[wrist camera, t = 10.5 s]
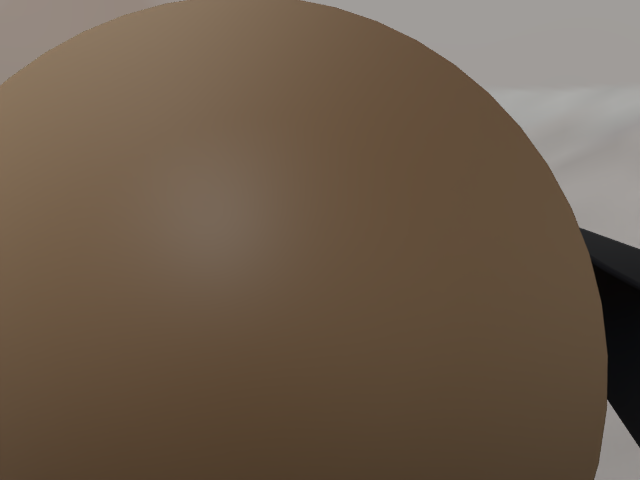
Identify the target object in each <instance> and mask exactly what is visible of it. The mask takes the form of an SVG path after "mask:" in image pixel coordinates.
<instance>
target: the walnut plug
mask: <svg viewBox="0 0 640 480" xmlns="http://www.w3.org/2000/svg"><path fill="white" fill-rule="evenodd" d="M607 364H608V354H607V346H606V337H605V328H604V319H603V311H602V303H601V299H600V295H599V291H598V287H597V283H596V279H595V275H594V271H593V267H592V263H591V259H590V255H589V252H588V249H587V247H586V244H585V242H584V239H583V236H582V234H581V231H580V229H579V226H578V224H577V221H576V218H575V216H574V213H573V211H572V208H571V206H570V204H569V203H568V201H567V199H566V197H565V195H564V193H563V192H562V190H561V188H560V186H559V184H558V182H557V181H556V179H555V177H554V175H553V173H552V171H551V170H550V168H549V166H548V164H547V163H546V162H545V160H544V159H543V157H542V156H541V155H540V153H539V152H538V151H537V149H536V148H535V146H534V145H533V144H532V142H531V141H530V139H529V138H528V137H527V135H526V134H525V133H524V131H523V130H522V128H521V127H520V126H519V125H518V124H517V123H516V122H515V121H514V120H513V118H512V117H511V116H510V115H509V114H508V113H507V112H506V111H505V110H504V109H503V108H502V107H501V106H500V105H499V103H498V102H497V101H496V100H495V99H494V98H493V97H492V96H491V95H490V94H489V93H488V92H487V91H486V90H484V89H483V88H482V87H481V86H480V85H478V84H477V83H476V82H475V81H473V80H472V79H471V78H470V77H469V76H468V75H466V74H465V73H464V72H463V71H462V70H460V69H459V68H458V67H457V66H456V65H454V64H453V63H451V62H450V61H448V60H446V59H445V58H443V57H442V56H440V55H439V54H437V53H436V52H434V51H433V50H431V49H429V48H428V47H426V46H425V45H423V44H422V43H420V42H418V41H417V40H415V39H413V38H411V37H409V36H406V35H404V34H402V33H400V32H398V31H396V30H394V29H392V28H390V27H388V26H386V25H384V24H381V23H379V22H377V21H374V20H371V19H368V18H365V17H363V16H359V15H357V14H354V13H351V12H348V11H344V10H342V9H339V8H335V7H331V6H326V5H321V4H316V3H311V2H306V1H301V0H186V1H179V2H173V3H167V4H163V5H159V6H155V7H152V8H148V9H144V10H141V11H137V12H134V13H130V14H126V15H123V16H121V17H118V18H116V19H114V20H111V21H109V22H106V23H104V24H101V25H99V26H96V27H94V28H91V29H89V30H86V31H84V32H82V33H80V34H79V35H77V36H75V37H73V38H71V39H69V40H67V41H66V42H64V43H62V44H60V45H58V46H56V47H55V48H53V49H51V50H49V51H47V52H45V53H44V54H43V55H41V56H40V57H38V58H37V59H36V60H34V61H33V62H31V63H30V64H28V65H27V66H26V67H24V68H23V69H21V70H20V71H18V72H17V73H16V74H14V75H13V76H12V77H10V78H9V79H8V80H7V81H5V82H4V83H3V84H2V85H1V86H0V480H594V478H595V474H596V471H597V467H598V464H599V458H600V451H601V444H602V438H603V431H604V424H605V417H606V411H607Z"/></svg>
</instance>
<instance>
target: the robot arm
mask: <svg viewBox="0 0 640 480" xmlns="http://www.w3.org/2000/svg"><path fill="white" fill-rule="evenodd" d="M579 229H580V231H581V234H582V236H583V239H584V242H585V244H586V247H587V249H588V252H589V255H590V259H591V263H592V267H593V271H594V275H595V279H596V283H597V287H598V291H599V295H600V299H601V303H602V311H603V319H604V328H605V337H606V346H607V354H608V364H607V400H608V401H609V403H610V404H611V406H612V407H613V409H614V410H615V412H616V413H617V415H618V416H619V418H620V419H621V421H622V422H623V424H624V425H625V427H626V428H627V430H628V431H629V433H630V434H631V436H632V437H633V439H634V440H635V441H636V443H637V444H638V446H639V447H640V249H638V248H635V247H632V246H629V245H626V244H624V243H621V242H618V241H615V240H613V239H610V238H607V237H604V236H601V235H599V234H596V233H593V232H590V231H588V230H585V229H582V228H579Z"/></svg>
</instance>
